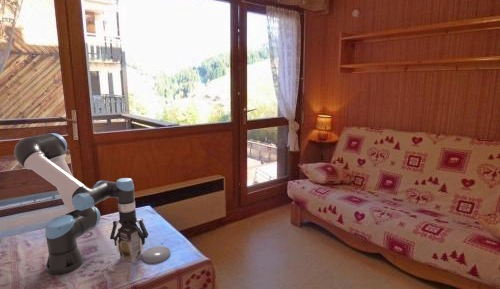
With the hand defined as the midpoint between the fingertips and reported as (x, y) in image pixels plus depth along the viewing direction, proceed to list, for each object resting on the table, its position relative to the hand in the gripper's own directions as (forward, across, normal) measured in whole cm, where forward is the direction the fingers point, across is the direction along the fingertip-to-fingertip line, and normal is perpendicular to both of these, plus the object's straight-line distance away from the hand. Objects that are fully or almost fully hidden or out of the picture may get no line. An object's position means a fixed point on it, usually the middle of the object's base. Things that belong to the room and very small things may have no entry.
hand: (130, 250), depth 148 cm
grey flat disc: (+4, +12, +1) cm, 13 cm away
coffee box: (+4, 0, 0) cm, 4 cm away
